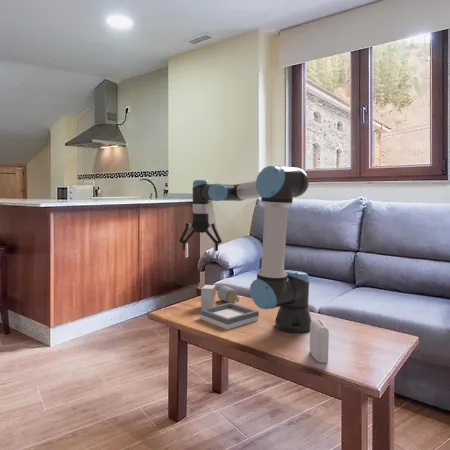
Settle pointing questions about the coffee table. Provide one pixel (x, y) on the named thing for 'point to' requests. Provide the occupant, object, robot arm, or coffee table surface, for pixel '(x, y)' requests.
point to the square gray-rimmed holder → (229, 315)
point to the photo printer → (319, 340)
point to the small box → (208, 296)
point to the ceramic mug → (227, 294)
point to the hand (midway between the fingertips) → (200, 257)
